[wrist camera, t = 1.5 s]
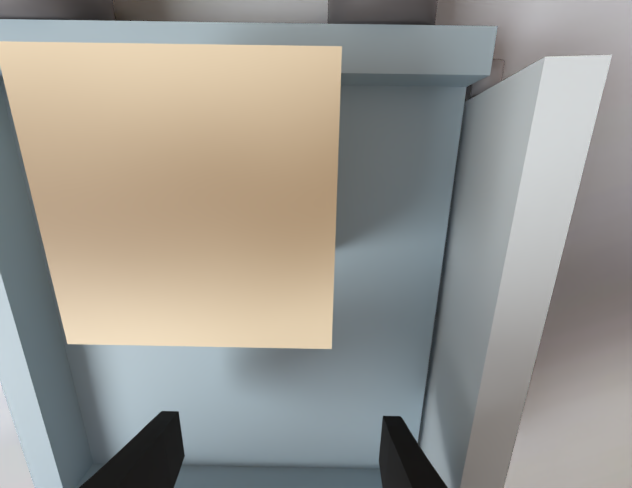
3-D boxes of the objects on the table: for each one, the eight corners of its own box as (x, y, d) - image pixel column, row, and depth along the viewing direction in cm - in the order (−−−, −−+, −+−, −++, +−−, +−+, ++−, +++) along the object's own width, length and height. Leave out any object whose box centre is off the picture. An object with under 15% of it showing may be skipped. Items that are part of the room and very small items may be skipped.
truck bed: (427, 482, 16) (452, 556, 13) (99, 475, 16) (48, 548, 13) (501, 11, 10) (577, -52, 7) (-16, 3, 10) (-154, -60, 7)
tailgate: (448, 451, 15) (487, 587, 10) (417, 447, 15) (441, 578, 10) (509, 101, 11) (629, 53, 6) (464, 102, 11) (545, 56, 6)
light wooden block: (325, 253, 11) (331, 348, 6) (194, 250, 11) (67, 343, 6) (328, 111, 10) (341, 46, 4) (179, 108, 10) (-6, 41, 4)
